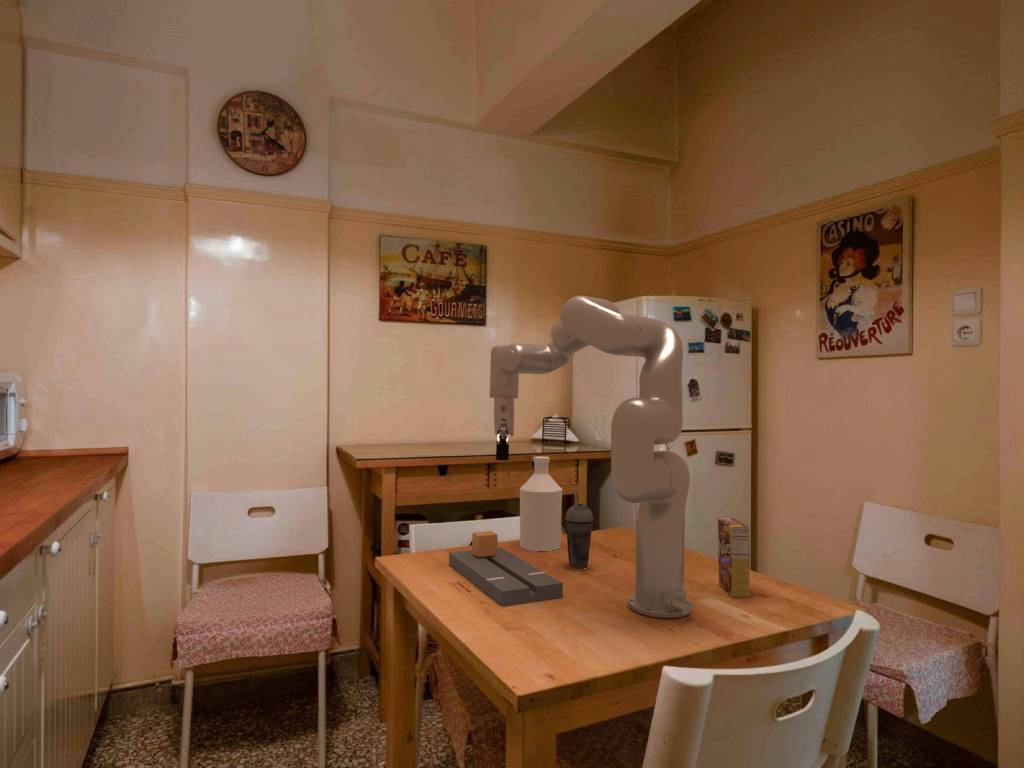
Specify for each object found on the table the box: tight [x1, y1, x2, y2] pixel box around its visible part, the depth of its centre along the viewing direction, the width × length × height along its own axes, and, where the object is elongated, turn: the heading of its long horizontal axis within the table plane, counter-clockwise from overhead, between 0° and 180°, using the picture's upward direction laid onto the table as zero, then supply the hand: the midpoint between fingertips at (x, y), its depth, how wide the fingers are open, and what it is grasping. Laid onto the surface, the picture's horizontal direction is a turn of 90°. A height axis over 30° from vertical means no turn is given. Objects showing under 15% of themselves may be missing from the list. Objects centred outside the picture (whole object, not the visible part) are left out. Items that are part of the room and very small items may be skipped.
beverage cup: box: [564, 485, 595, 570], centre depth 152 cm, size 7×7×20 cm
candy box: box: [717, 517, 751, 599], centre depth 135 cm, size 9×4×15 cm, turn 0°
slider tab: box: [471, 530, 498, 561], centre depth 150 cm, size 4×5×7 cm
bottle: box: [519, 456, 563, 552], centre depth 171 cm, size 12×12×25 cm
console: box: [448, 546, 564, 607], centre depth 140 cm, size 32×14×3 cm, turn 25°
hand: (502, 457), depth 160 cm, fingers open, 9 cm apart
